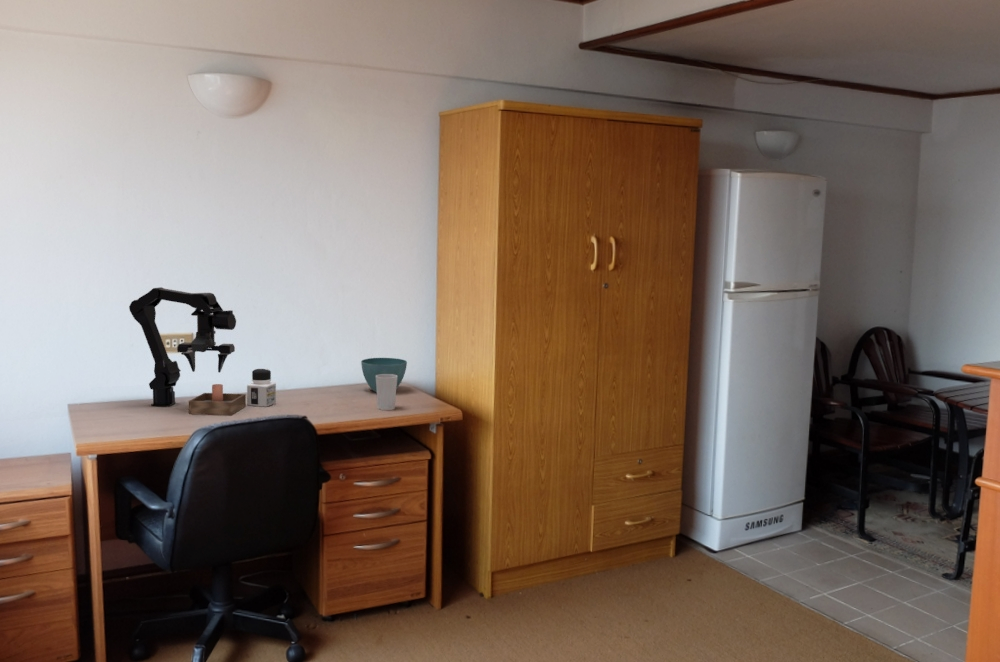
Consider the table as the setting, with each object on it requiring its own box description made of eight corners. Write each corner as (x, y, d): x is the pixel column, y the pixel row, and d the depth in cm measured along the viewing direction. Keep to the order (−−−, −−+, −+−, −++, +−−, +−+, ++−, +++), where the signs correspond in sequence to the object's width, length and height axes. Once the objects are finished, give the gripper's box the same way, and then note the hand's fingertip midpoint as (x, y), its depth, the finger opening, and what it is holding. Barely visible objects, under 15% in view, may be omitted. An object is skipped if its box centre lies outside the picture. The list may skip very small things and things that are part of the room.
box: (188, 413, 297) (188, 401, 296) (204, 404, 312) (204, 392, 311) (231, 415, 296) (231, 402, 296) (245, 406, 311) (245, 394, 311)
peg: (210, 411, 302) (210, 385, 301) (214, 408, 306) (214, 384, 305) (220, 411, 302) (220, 386, 301) (224, 409, 306) (224, 384, 305)
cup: (401, 407, 317) (401, 375, 315) (389, 411, 309) (390, 378, 308) (382, 405, 320) (383, 373, 318) (370, 408, 313) (371, 376, 311)
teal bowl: (414, 389, 351) (415, 360, 350) (391, 397, 335) (391, 366, 333) (376, 385, 358) (377, 356, 357) (352, 392, 342) (352, 362, 340)
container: (266, 407, 311) (266, 371, 310) (246, 405, 313) (246, 370, 311) (276, 402, 319) (276, 368, 317) (257, 401, 320) (256, 367, 319)
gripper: (170, 330, 296) (171, 375, 298) (224, 332, 295) (224, 376, 297) (183, 326, 307) (183, 369, 309) (234, 328, 306) (235, 371, 308)
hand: (206, 372), depth 305 cm, fingers open, 9 cm apart
